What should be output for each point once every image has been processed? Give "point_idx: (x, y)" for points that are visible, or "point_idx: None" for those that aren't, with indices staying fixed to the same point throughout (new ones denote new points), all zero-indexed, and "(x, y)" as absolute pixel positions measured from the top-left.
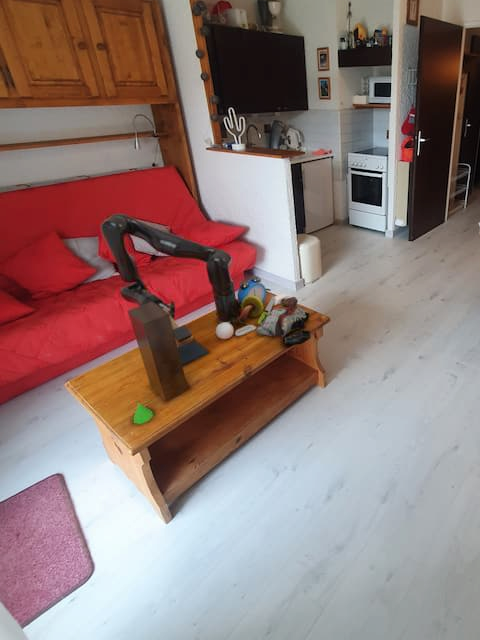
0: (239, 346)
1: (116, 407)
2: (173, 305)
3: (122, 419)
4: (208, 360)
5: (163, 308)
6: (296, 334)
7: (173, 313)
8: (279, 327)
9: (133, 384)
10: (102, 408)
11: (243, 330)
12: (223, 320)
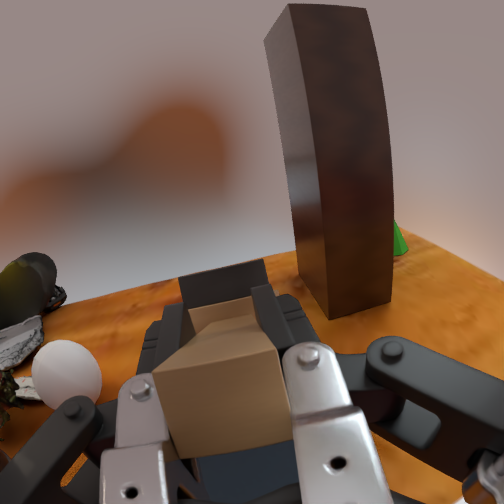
0: (102, 345)
1: (453, 271)
2: (24, 450)
3: (428, 251)
4: None
5: (191, 365)
6: None
7: (153, 328)
8: (44, 259)
9: (442, 317)
10: (481, 274)
11: (33, 388)
12: (5, 464)
